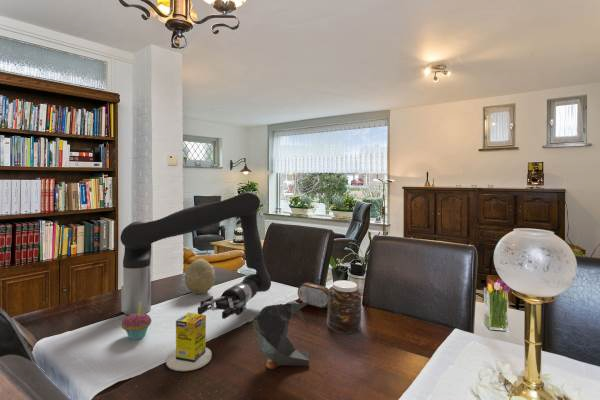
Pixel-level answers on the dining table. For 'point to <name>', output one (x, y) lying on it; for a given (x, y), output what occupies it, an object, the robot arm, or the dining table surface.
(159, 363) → the dining table surface
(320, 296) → the tin
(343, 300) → the jar
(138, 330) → the cupcake
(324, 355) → the dining table surface
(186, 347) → the supplement box
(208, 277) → the fossilized egg
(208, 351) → the plate
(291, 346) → the grey bird figurine
